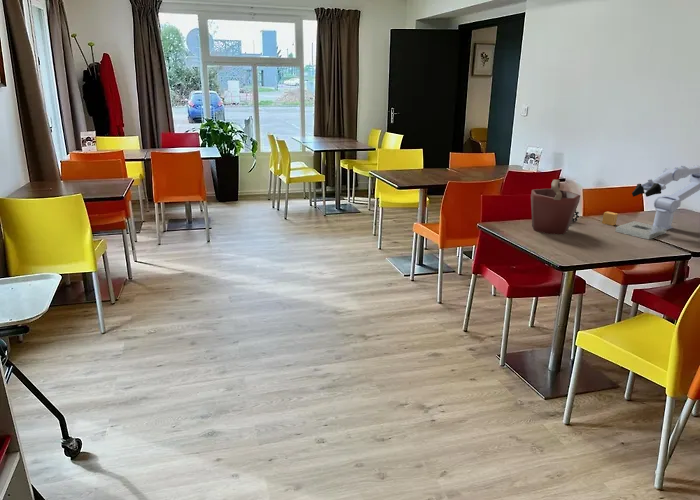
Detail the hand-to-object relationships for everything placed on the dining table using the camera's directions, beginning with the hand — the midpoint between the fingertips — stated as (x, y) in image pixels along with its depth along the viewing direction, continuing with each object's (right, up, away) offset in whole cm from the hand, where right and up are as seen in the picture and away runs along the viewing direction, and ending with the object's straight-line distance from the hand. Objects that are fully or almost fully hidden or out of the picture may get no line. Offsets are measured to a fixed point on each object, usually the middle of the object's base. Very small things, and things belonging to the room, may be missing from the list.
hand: (639, 194), depth 250 cm
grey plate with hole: (+3, -18, +5) cm, 19 cm away
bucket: (-44, -17, +4) cm, 47 cm away
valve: (-29, -13, +20) cm, 37 cm away
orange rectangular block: (-6, -14, +19) cm, 24 cm away
